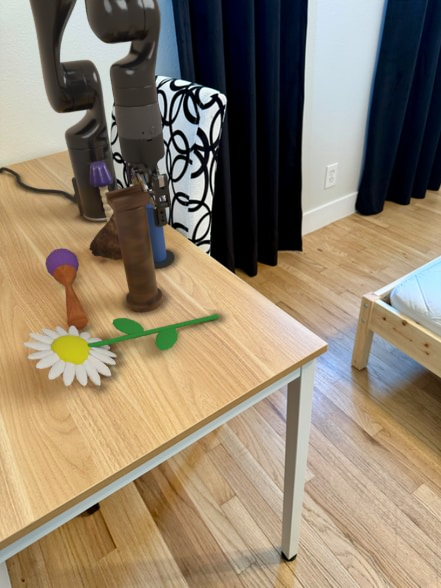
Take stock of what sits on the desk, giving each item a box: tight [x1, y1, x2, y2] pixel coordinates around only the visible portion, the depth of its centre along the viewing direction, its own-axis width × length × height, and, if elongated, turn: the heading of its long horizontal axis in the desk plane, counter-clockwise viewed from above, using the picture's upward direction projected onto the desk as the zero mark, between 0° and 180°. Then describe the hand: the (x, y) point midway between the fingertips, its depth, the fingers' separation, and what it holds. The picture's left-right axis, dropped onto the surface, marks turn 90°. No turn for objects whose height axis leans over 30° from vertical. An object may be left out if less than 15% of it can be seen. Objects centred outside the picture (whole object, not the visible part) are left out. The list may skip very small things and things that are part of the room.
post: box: [105, 184, 164, 313], centre depth 71 cm, size 6×6×21 cm
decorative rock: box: [88, 213, 123, 261], centre depth 86 cm, size 12×6×11 cm, turn 79°
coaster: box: [154, 249, 176, 270], centre depth 88 cm, size 7×7×1 cm
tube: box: [146, 201, 167, 262], centre depth 84 cm, size 12×4×4 cm
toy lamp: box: [90, 161, 113, 223], centre depth 91 cm, size 5×5×17 cm
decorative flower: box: [23, 313, 220, 387], centre depth 67 cm, size 13×5×30 cm
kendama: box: [45, 247, 89, 331], centre depth 77 cm, size 6×6×20 cm
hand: (151, 216), depth 82 cm, fingers open, 8 cm apart
